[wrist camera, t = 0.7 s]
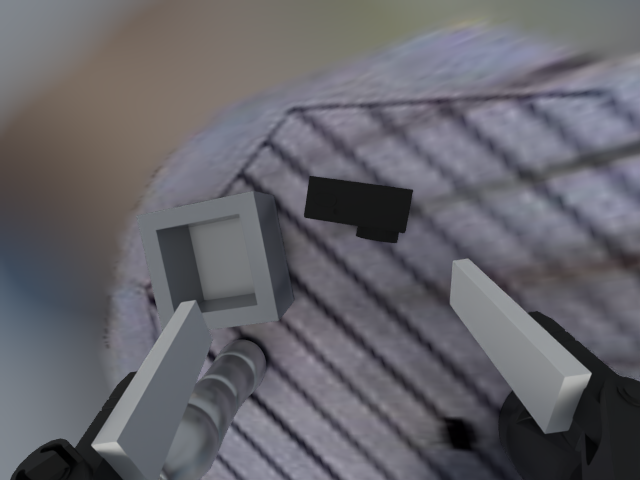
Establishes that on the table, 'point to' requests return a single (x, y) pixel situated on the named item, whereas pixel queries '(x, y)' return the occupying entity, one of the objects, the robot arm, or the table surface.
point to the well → (219, 260)
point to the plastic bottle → (213, 410)
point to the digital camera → (360, 207)
